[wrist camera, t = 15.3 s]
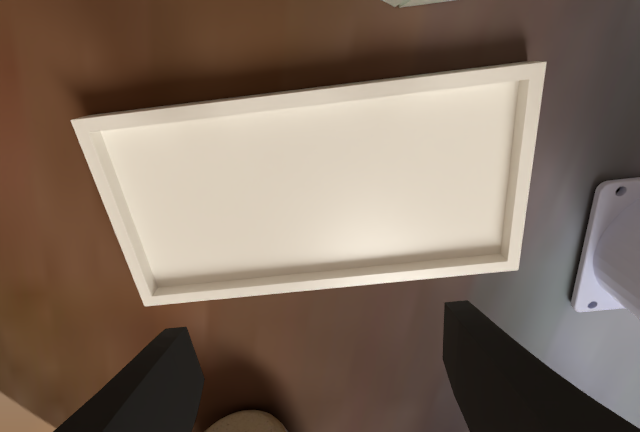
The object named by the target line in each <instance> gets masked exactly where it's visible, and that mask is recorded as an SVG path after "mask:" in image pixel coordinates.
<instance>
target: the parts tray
mask: <svg viewBox="0 0 640 432" xmlns="http://www.w3.org/2000/svg"><path fill="white" fill-rule="evenodd" d="M545 69H546V62H538V61H525V62H517V63H509V64H501V65H493V66H485V67H477V68H468V69H460V70H452V71H444V72H436V73H428V74H420V75H412V76H403V77H395V78H387V79H379V80H371V81H363V82H355V83H346V84H338V85H330V86H322V87H314V88H306V89H298V90H290V91H281V92H273V93H265V94H257V95H249V96H241V97H233V98H224V99H216V100H208V101H200V102H192V103H184V104H176V105H168V106H159V107H151V108H143V109H135V110H127V111H119V112H111V113H102V114H94V115H88V116H84V117H80V118H77V119H73V120H71V123H72V125H73V128H74V130H75V133H76V135H77V138H78V140H79V143H80V145H81V148H82V150H83V153H84V155H85V158H86V160H87V163H88V165H89V168H90V171H91V173H92V176H93V178H94V181H95V183H96V186H97V188H98V191H99V193H100V196H101V198H102V201H103V203H104V206H105V208H106V211H107V213H108V216H109V218H110V221H111V223H112V226H113V228H114V231H115V233H116V236H117V238H118V241H119V243H120V246H121V248H122V251H123V253H124V256H125V258H126V261H127V263H128V266H129V269H130V271H131V274H132V276H133V279H134V281H135V284H136V286H137V289H138V291H139V294H140V296H141V299H142V301H143V304H144V306H154V305H164V304H174V303H184V302H195V301H205V300H215V299H226V298H236V297H246V296H256V295H267V294H277V293H287V292H297V291H308V290H318V289H328V288H338V287H349V286H359V285H369V284H380V283H390V282H400V281H410V280H421V279H431V278H441V277H451V276H462V275H472V274H482V273H493V272H503V271H513V270H518V268H519V260H520V253H521V246H522V238H523V231H524V224H525V216H526V209H527V202H528V194H529V187H530V180H531V172H532V165H533V158H534V150H535V143H536V136H537V128H538V121H539V113H540V106H541V99H542V91H543V84H544V77H545Z"/></svg>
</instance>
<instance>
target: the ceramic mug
mask: <svg viewBox="0 0 640 432" xmlns="http://www.w3.org/2000/svg"><path fill="white" fill-rule="evenodd" d="M205 432H288V431H287V430H286V428H285V427H284V426H283V424H282V423H281V422H280V421H279V420H278V419H277V418H275V417H274V416H273V415H271V414H269V413H267V412H263V411H259V410H244V411H239V412H235V413H233V414H230V415H228V416H226V417H224V418H222V419H220V420H218V421H217V422H215V423H214V424H213V425H211V426H210V427H209V428H208V429H207V430H206V431H205Z"/></svg>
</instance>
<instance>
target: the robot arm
mask: <svg viewBox="0 0 640 432" xmlns="http://www.w3.org/2000/svg"><path fill="white" fill-rule="evenodd" d="M619 187H620V190H619V191H618V192H617V193H616V190H617V189H618V188H619ZM590 302H591V303H590ZM571 306H572V307H573V308H574V309H575V310H576V311H577V312H588V311H599V310H610V309H620V308H626V309H627V310H628V311H630V312H631V313H632V314H633V315H635V316H636V317H637V318H638V319H639V320H640V177H637V178H627V179H618V180H609V181H604V182H602V183H601V184H599V186H598V187H597V188H596V191H595V195H594V199H593V204H592V208H591V213H590V218H589V222H588V227H587V231H586V236H585V240H584V245H583V250H582V254H581V259H580V263H579V268H578V272H577V277H576V282H575V286H574V291H573V295H572V300H571ZM443 361H444V364H445V368H446V371H447V374H448V377H449V380H450V383H451V387H452V390H453V393H454V396H455V398H456V400H457V403H458V405H459V407H460V409H461V412H462V414H463V416H464V419H465V421H466V423H467V425H468V428H469V430H470V432H640V429H639V428H637V427H636V426H634V425H633V424H631V423H630V422H628V421H626V420H625V419H623V418H622V417H620V416H619V415H617V414H616V413H614V412H612V411H611V410H609V409H608V408H606V407H605V406H603V405H602V404H600V403H598V402H597V401H596V400H594V399H593V398H591V397H590V396H588V395H587V394H585V393H584V392H582V391H581V390H579V389H578V388H577V387H575V386H574V385H573V384H571V383H570V382H568V381H567V380H566V379H564V378H563V377H562V376H560V375H559V374H557V373H556V372H555V371H553V370H552V369H551V368H549V367H548V366H547V365H545V364H544V363H543V362H541V361H540V360H539V359H538V358H536V357H535V356H534V355H533V354H531V353H530V352H529V351H527V350H526V349H525V348H524V347H522V346H521V345H520V344H519V343H517V342H516V341H515V340H514V339H513V338H511V337H510V336H509V335H508V334H507V333H505V332H504V331H503V330H502V329H501V328H499V327H498V326H497V325H496V324H495V323H494V322H492V321H491V320H490V319H489V318H488V317H487V316H485V315H484V314H483V313H482V312H481V311H479V310H478V309H477V308H476V307H475V306H474V305H472V304H471V303H470V302H469V301H468V300H467V301H456V302H445V309H444V336H443ZM204 380H205V379H204V376H203V373H202V370H201V367H200V364H199V362H198V359H197V356H196V353H195V350H194V347H193V344H192V341H191V339H190V336H189V333H188V330H187V327H180V328H169V329H165V330H164V331H162V332H161V333H160V334H159V335H158V336H157V337H156V338H155V339H154V340H152V341H151V342H150V343H149V344H148V345H147V346H146V347H145V348H144V349H143V350H142V351H141V352H140V353H139V354H138V355H137V356H136V357H135V358H134V359H133V360H132V361H130V362H129V363H128V364H127V365H126V366H125V367H124V368H123V369H122V370H121V371H120V372H119V373H118V374H117V375H116V376H115V377H114V378H112V379H111V380H110V381H109V382H108V383H107V384H106V385H105V386H104V387H103V388H102V389H101V390H100V391H99V392H98V393H96V394H95V395H94V396H93V397H92V398H91V399H90V400H89V401H87V402H86V403H85V404H84V405H83V406H82V407H81V408H79V409H78V410H77V411H76V412H75V413H74V414H73V415H72V416H70V417H69V418H68V419H67V420H66V421H65V422H64V423H63V424H61V425H60V426H59V427H58V428H57V429H56V430H55V431H53V432H191V431H192V428H193V425H194V422H195V419H196V416H197V412H198V408H199V403H200V399H201V394H202V389H203V385H204Z"/></svg>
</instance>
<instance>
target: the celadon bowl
mask: <svg viewBox="0 0 640 432" xmlns="http://www.w3.org/2000/svg"><path fill="white" fill-rule="evenodd" d="M382 1H384V2H386V3H388V4H390V5H392V6H394V7H396V6H397V5H399V8H400V7H408V6H416V5H423V4H431V3H438V2H446V1H454V0H382Z"/></svg>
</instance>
